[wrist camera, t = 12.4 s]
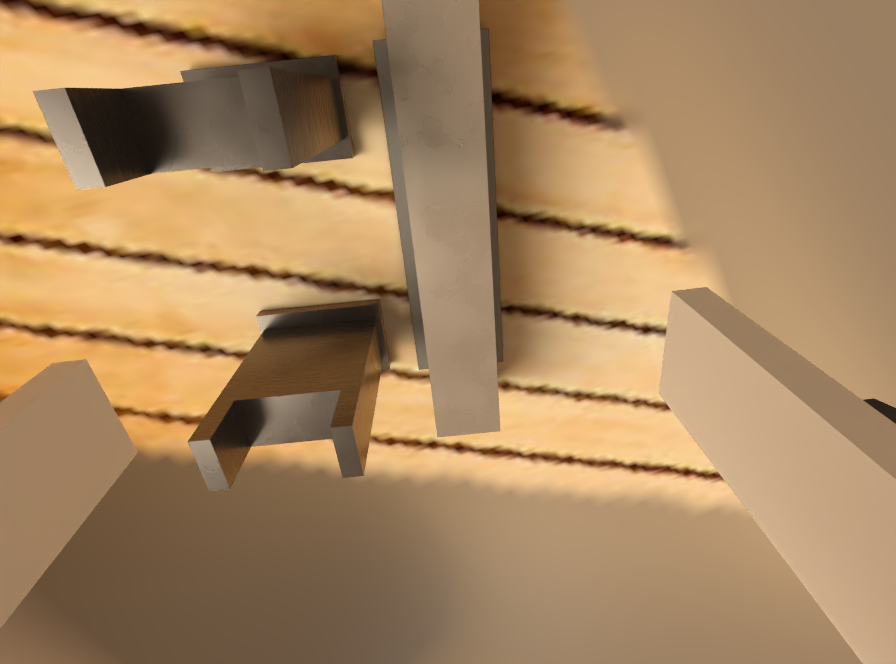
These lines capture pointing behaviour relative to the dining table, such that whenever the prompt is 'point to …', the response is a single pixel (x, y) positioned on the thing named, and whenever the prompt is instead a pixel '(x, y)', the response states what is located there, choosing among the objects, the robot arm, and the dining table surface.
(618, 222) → the dining table surface
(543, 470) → the dining table surface
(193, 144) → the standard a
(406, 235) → the plank
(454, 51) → the rail
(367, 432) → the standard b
